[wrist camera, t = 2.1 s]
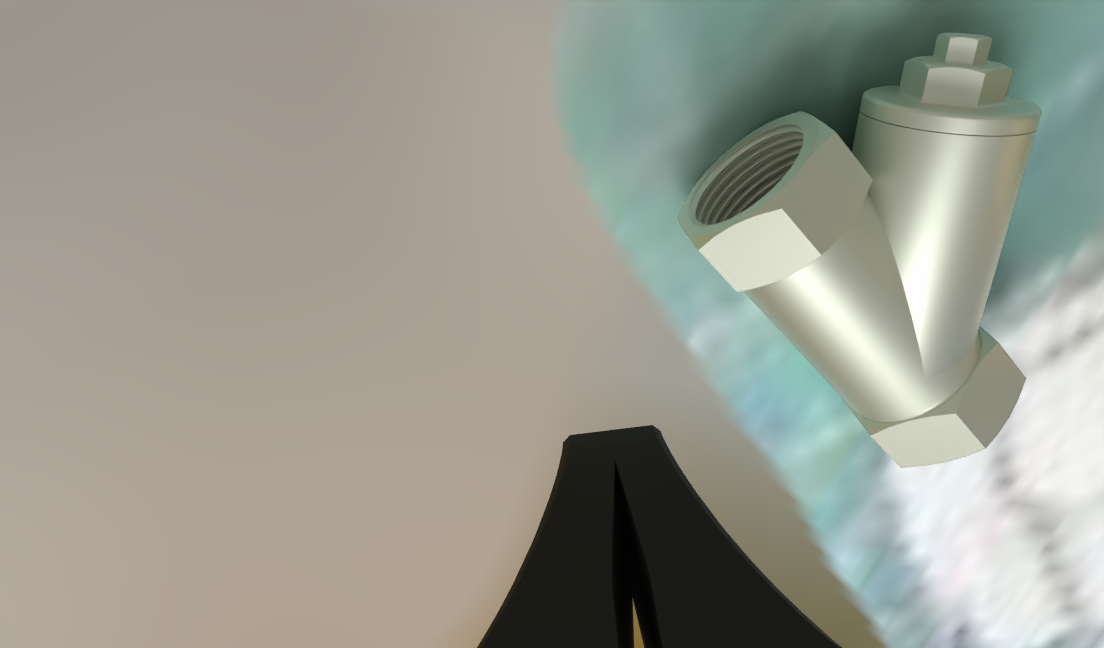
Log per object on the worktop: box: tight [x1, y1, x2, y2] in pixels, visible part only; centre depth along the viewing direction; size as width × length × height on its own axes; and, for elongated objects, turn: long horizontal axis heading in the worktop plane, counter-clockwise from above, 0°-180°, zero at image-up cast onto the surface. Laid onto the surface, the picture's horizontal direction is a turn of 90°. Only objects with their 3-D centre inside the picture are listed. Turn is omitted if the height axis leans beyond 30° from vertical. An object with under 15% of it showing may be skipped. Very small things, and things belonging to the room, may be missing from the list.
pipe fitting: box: [677, 33, 1042, 468], centre depth 18 cm, size 8×4×7 cm
